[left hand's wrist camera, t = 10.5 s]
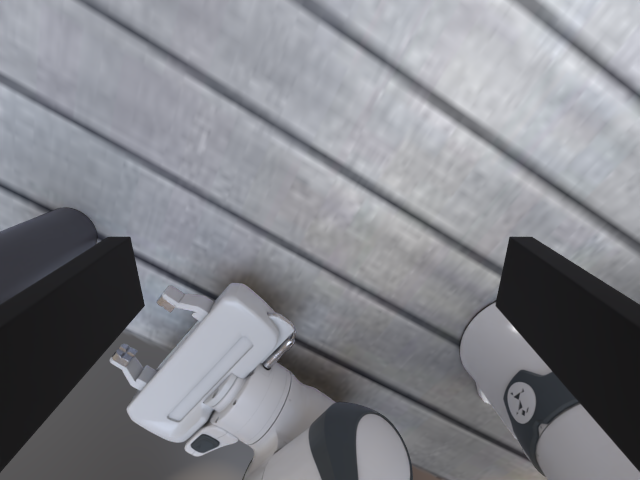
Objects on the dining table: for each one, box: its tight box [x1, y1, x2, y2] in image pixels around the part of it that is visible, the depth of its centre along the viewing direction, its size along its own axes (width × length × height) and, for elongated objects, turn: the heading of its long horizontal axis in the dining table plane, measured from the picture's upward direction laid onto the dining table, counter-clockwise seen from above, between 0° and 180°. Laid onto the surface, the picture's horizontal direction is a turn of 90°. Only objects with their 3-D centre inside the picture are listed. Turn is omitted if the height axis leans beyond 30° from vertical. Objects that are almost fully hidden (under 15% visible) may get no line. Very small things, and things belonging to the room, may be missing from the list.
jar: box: [0, 208, 97, 305], centre depth 31 cm, size 6×6×17 cm
